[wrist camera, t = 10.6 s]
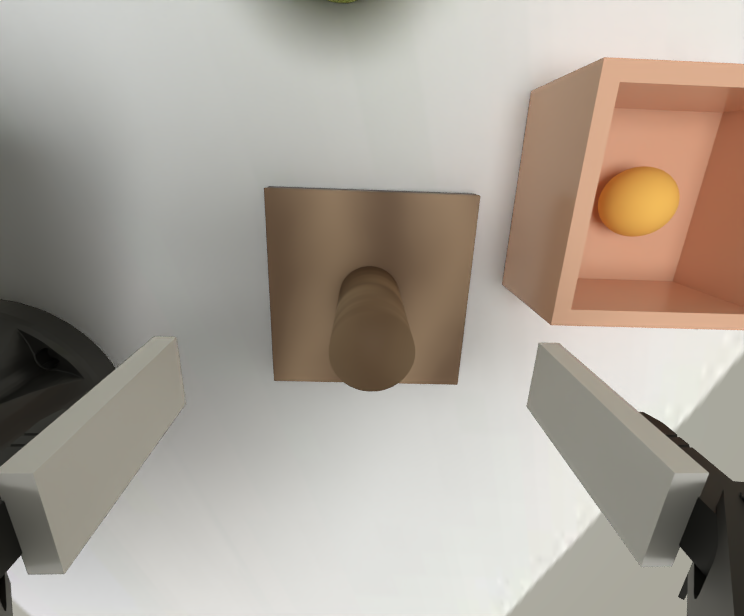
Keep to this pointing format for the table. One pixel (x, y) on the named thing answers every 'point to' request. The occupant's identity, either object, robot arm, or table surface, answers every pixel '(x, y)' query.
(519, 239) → the pink open box
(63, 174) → the table surface
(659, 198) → the clementine
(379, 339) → the lid
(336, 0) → the plant pot
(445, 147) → the table surface
